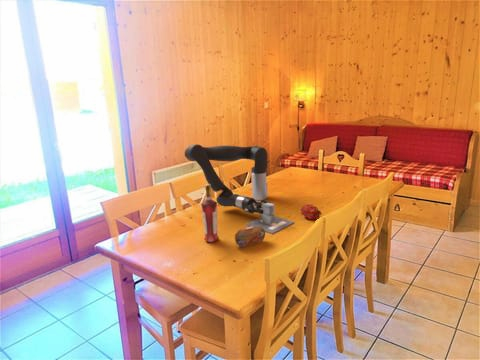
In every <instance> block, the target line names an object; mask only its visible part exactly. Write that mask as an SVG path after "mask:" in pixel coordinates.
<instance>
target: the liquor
mask: <svg viewBox="0 0 480 360" xmlns="http://www.w3.org/2000/svg"><path fill="white" fill-rule="evenodd" d="M204 189H205V200H204V201H202V203H201V212H202V213H201V215H202V221H203V228H204V238H203V239H204V240H205V241H206V242H207V243H215V242H216V241H218V239H219V235H218V203H217V201H215V200H213V199H212V192H211V190H212V188H211V184H208V183H207V184H204Z"/></svg>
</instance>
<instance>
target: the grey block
mask: <svg viewBox="0 0 480 360" xmlns="http://www.w3.org/2000/svg"><path fill="white" fill-rule="evenodd" d="M262 210H263V214H261V217H262V223H265V224H268V225H270V224H272V223H274V216H275V204H274V203H271V202H270V203H265V204H263V205H262Z"/></svg>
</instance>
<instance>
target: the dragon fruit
mask: <svg viewBox="0 0 480 360" xmlns="http://www.w3.org/2000/svg"><path fill="white" fill-rule="evenodd" d="M322 214H323V213H322V211H321V210H319V209H318V207H317V206H314V205H313V204H308V203H306V204H303V205H302V207H301V208H300V215H301V216H304V218H305V219H306V220H307V219H310V220H311V221H315V220H317V219H316V218H320V215H322Z"/></svg>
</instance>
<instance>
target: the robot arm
mask: <svg viewBox="0 0 480 360" xmlns="http://www.w3.org/2000/svg"><path fill="white" fill-rule="evenodd" d="M184 156H185V158H186V159H187V161H190V162H196V163H197V164H198V165H199V167H200V168H201V170H202V172H203V175H204V177H205V180H206V182H207V184H211V190H212V191H213V192H215V193H216V192H220V191H221V193H219V195H217V196H216V202H217V205H220V206H221V207H235V208H238V209H240V210H244V211H245V212H246V213H249V214H260V215H262V214H263V210H262V205H263V204H265V203H271V202H270V201H267V198H269V196H268V191H269V190H268V182H267V169H268V157H269V156H268V151H267V149H266V148H264V147H262V146H258V145H252V146H237V145H216V146H207V147H206V146H202V145H200V144H197V143H196V144H191V145H189V146H188V147H186V148H185V150H184ZM238 160H251V161H253V162H254V166H253V167H251V170H250V171H251V196H252V197H249V196H246V195H241V194H236V193H235V194H234V192H233V191H232V190H231V189H230V188H229V187H228V186H227V185H226V184H225V183H224V182H223V181H222V180H221V177H219V175H218V174H217V172H216V170H215V169H214V167H213V165H212V163H211V161H215V162H235V161H238Z"/></svg>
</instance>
